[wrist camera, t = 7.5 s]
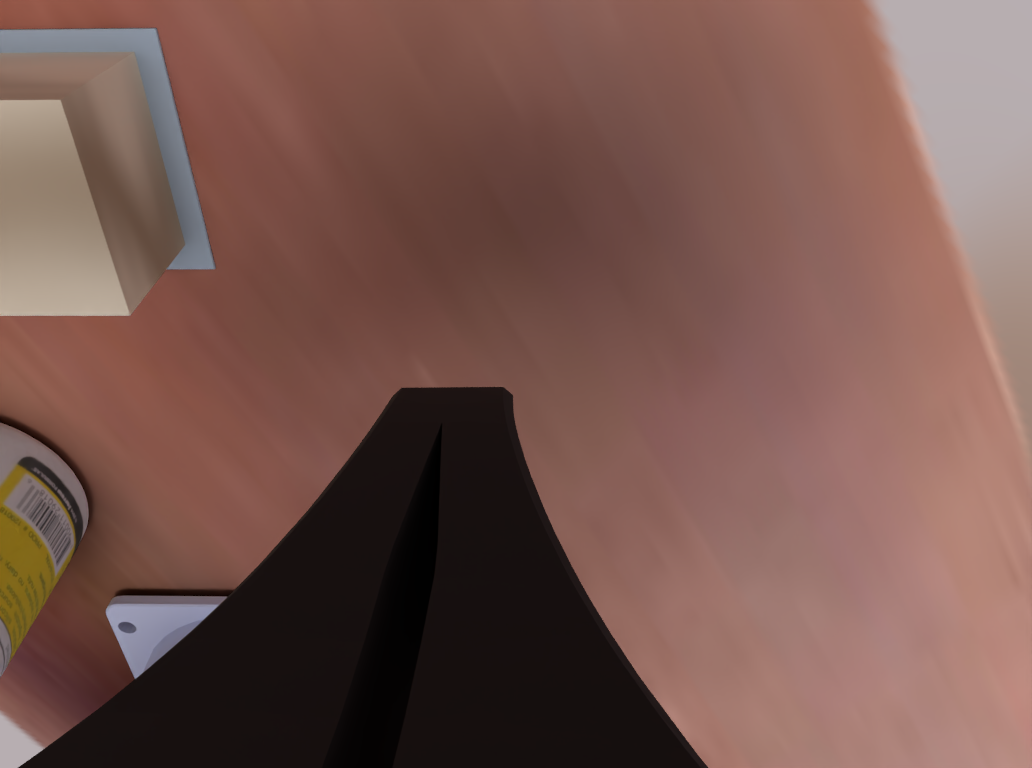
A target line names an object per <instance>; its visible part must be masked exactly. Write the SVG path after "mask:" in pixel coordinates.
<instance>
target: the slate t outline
mask: <svg viewBox="0 0 1032 768" xmlns="http://www.w3.org/2000/svg"><path fill="white" fill-rule="evenodd" d="M42 52H135V56H136V60H137V63H138V67H139V71H140V75H141V79H142V82H143V86H144V90H145V94H146V98H147V101H148V105H149V109H150V113H151V116H152V120H153V124H154V128H155V132H156V135H157V139H158V143H159V147H160V151H161V154H162V158H163V162H164V166H165V169H166V173H167V177H168V181H169V185H170V188H171V192H172V196H173V200H174V204H175V207H176V211H177V215H178V219H179V222H180V226H181V230H182V234H183V238H184V241H185V246H184V247H183V248H182V250H181V251H180V252H179V254H178V255H177V256H176V257H175V259H174V260H173V261H172V263H171V264H170V265H169V267H168V268H167V269H215V268H216V267H215V263H214V259H213V254H212V250H211V246H210V242H209V238H208V234H207V230H206V226H205V222H204V218H203V214H202V210H201V206H200V202H199V198H198V194H197V190H196V185H195V181H194V177H193V173H192V169H191V165H190V161H189V157H188V153H187V149H186V145H185V141H184V137H183V133H182V129H181V125H180V121H179V116H178V112H177V108H176V104H175V100H174V96H173V92H172V88H171V84H170V80H169V76H168V72H167V68H166V64H165V60H164V56H163V52H162V47H161V43H160V39H159V35H158V31H157V28H92V29H0V53H42Z"/></svg>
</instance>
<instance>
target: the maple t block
mask: <svg viewBox="0 0 1032 768" xmlns="http://www.w3.org/2000/svg"><path fill="white" fill-rule="evenodd" d="M184 246H185V241H184V238H183V234H182V230H181V226H180V222H179V219H178V215H177V211H176V207H175V204H174V200H173V196H172V192H171V188H170V185H169V181H168V177H167V173H166V169H165V166H164V162H163V158H162V154H161V151H160V147H159V143H158V139H157V135H156V132H155V128H154V124H153V120H152V116H151V113H150V109H149V105H148V101H147V98H146V94H145V90H144V86H143V82H142V79H141V75H140V71H139V67H138V63H137V60H136V56H135V52H42V53H0V316H130V315H131V314H132V313H133V312H134V310H135V309H136V308H137V306H138V305H139V304H140V303H141V301H142V300H143V299H144V297H145V296H146V295H147V294H148V292H149V291H150V290H151V288H152V287H153V286H154V285H155V283H156V282H157V281H158V279H159V278H160V277H161V276H162V274H163V273H164V272H165V270H166V269H167V268H168V267H169V265H170V264H171V263H172V261H173V260H174V259H175V257H176V256H177V255H178V254H179V252H180V251H181V250H182V248H183V247H184Z"/></svg>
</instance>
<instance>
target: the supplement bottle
mask: <svg viewBox="0 0 1032 768" xmlns="http://www.w3.org/2000/svg"><path fill="white" fill-rule="evenodd" d="M88 517H89V509H88V503H87V499H86V495H85V492H84V490H83V488H82V486H81V484H80V482H79V480H78V479H77V477H76V475H75V474H74V473H73V471H72V470H71V468H70V467H69V466H68V465H67V464H66V463H65V462H64V461H63V460H62V459H61V458H60V457H59V456H58V455H57V454H56V453H54V452H53V451H52V450H51V449H49V448H48V447H46V446H45V445H44V444H42V443H41V442H39V441H38V440H36V439H34V438H33V437H31V436H29V435H27V434H26V433H24V432H22V431H20V430H17V429H15V428H13V427H11V426H8V425H6V424H3V423H0V677H1V675H2V674H3V672H4V671H5V669H6V667H7V666H8V664H9V662H10V661H11V659H12V657H13V656H14V654H15V652H16V651H17V649H18V647H19V646H20V644H21V642H22V641H23V639H24V637H25V636H26V634H27V632H28V630H29V629H30V627H31V625H32V623H33V622H34V620H35V619H36V617H37V615H38V614H39V612H40V610H41V609H42V607H43V606H44V604H45V602H46V600H47V598H48V597H49V595H50V593H51V592H52V590H53V588H54V587H55V585H56V583H57V582H58V580H59V579H60V577H61V575H62V574H63V572H64V570H65V569H66V567H67V565H68V564H69V562H70V560H71V558H72V556H73V555H74V553H75V551H76V549H77V547H78V545H79V543H80V541H81V539H82V537H83V535H84V533H85V530H86V528H87V524H88Z"/></svg>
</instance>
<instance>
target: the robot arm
mask: <svg viewBox="0 0 1032 768" xmlns="http://www.w3.org/2000/svg"><path fill="white" fill-rule="evenodd" d="M106 616H107V618H108V620H109V622H110V625H111V627H112V629H113V631H114V633H115V636H116V638H117V640H118V642H119V645H120V647H121V649H122V651H123V653H124V656H125V658H126V660H127V662H128V665H129V667H130V669H131V671H132V673H133V676H134V678H135V680H134V681H132V682H131V683H130V684H129V685H128V686H126V687H125V688H124V689H123V690H121V691H120V692H119V693H118V694H117V695H115V696H114V697H113V698H112V699H110V700H109V701H108V702H107V703H105V704H104V705H103V706H102V707H100V708H99V709H98V710H96V711H95V712H94V713H92V714H91V715H90V716H88V717H87V718H86V719H84V720H83V721H82V722H80V723H79V724H77V725H76V726H75V727H73V728H72V729H71V730H69V731H68V732H67V733H65V734H64V735H63V736H61V737H60V738H59V739H57V740H56V741H54V742H53V743H52V744H50V745H49V746H48V747H46V748H45V749H44V750H42V751H41V752H40V753H38V754H37V755H35V756H34V757H33V758H31V759H30V760H28V761H27V762H26V763H24V764H23V765H21V766H20V767H19V768H708V767H707V766H706V764H705V763H704V762H703V761H702V760H701V758H700V757H699V756H698V755H697V753H696V752H695V751H694V749H693V748H692V747H691V745H690V744H689V743H688V741H687V740H686V739H685V737H684V736H683V735H682V733H681V732H680V731H679V729H678V728H677V727H676V725H675V724H674V723H673V721H672V720H671V719H670V717H669V716H668V715H667V713H666V712H665V711H664V709H663V708H662V707H661V705H660V704H659V703H658V701H657V700H656V698H655V697H654V696H653V694H652V693H651V692H650V690H649V689H648V688H647V686H646V685H645V684H644V682H643V681H642V680H641V678H640V677H639V675H638V674H637V673H636V671H635V670H634V668H633V667H632V665H631V664H630V662H629V660H628V659H627V657H626V656H625V654H624V653H623V651H622V650H621V648H620V647H619V645H618V644H617V642H616V641H615V639H614V638H613V636H612V635H611V633H610V631H609V630H608V628H607V627H606V625H605V623H604V622H603V620H602V618H601V617H600V615H599V613H598V612H597V610H596V608H595V607H594V605H593V604H592V602H591V600H590V598H589V597H588V595H587V593H586V591H585V590H584V588H583V586H582V584H581V582H580V581H579V579H578V577H577V575H576V573H575V571H574V570H573V568H572V566H571V564H570V562H569V560H568V558H567V556H566V554H565V552H564V550H563V548H562V546H561V544H560V542H559V540H558V538H557V536H556V534H555V532H554V530H553V527H552V525H551V523H550V521H549V519H548V516H547V514H546V512H545V509H544V507H543V505H542V502H541V500H540V497H539V495H538V492H537V490H536V487H535V485H534V482H533V480H532V478H531V475H530V472H529V469H528V466H527V464H526V461H525V458H524V454H523V451H522V448H521V444H520V441H519V438H518V433H517V429H516V425H515V420H514V413H513V395H512V394H511V393H510V392H508V391H507V390H506V389H505V388H504V387H450V388H401V389H400V390H399V391H398V392H397V393H396V394H395V395H394V396H393V397H392V398H391V400H390V401H389V403H388V404H387V406H386V407H385V409H384V410H383V412H382V413H381V415H380V416H379V418H378V419H377V421H376V422H375V424H374V425H373V426H372V428H371V429H370V431H369V432H368V434H367V435H366V436H365V438H364V439H363V440H362V442H361V443H360V445H359V446H358V447H357V449H356V450H355V451H354V453H353V454H352V455H351V457H350V458H349V459H348V461H347V462H346V463H345V465H344V466H343V467H342V468H341V470H340V471H339V472H338V473H337V475H336V476H335V477H334V479H333V480H332V481H331V482H330V484H329V485H328V486H327V487H326V489H325V490H324V491H323V492H322V494H321V495H320V496H319V498H318V499H317V500H316V501H315V502H314V504H313V505H312V506H311V507H310V508H309V510H308V511H307V512H306V513H305V514H304V515H303V517H302V518H301V519H300V520H299V521H298V522H297V523H296V524H295V526H294V527H293V528H292V529H291V530H290V531H289V532H288V533H287V535H286V536H285V537H284V538H283V539H282V540H281V541H280V542H279V544H278V545H277V546H276V547H275V548H274V549H273V550H272V551H271V553H270V554H269V555H268V556H267V557H266V558H265V559H264V560H263V561H262V562H261V563H260V564H259V566H258V567H257V568H256V569H255V570H254V571H253V572H252V573H251V574H250V575H249V576H248V577H247V578H246V579H245V580H244V581H243V582H242V583H241V584H240V585H239V586H238V587H237V588H236V589H235V590H234V591H233V592H232V593H231V594H230V595H229V596H131V595H123V596H116V597H114V598H113V599H112V600H111V601H110V603H109V605H108V607H107V609H106Z"/></svg>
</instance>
